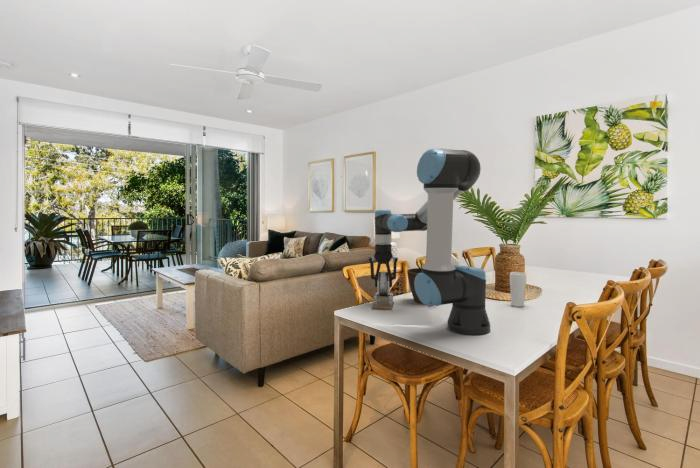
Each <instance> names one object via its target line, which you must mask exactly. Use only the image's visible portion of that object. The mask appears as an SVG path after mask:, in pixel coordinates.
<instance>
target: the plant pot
mask: <svg viewBox="0 0 700 468" xmlns="http://www.w3.org/2000/svg"><path fill="white" fill-rule="evenodd" d="M406 272H407V279H408V283H409V284H408V285H409V288H410V292H411V294H412V299H413V301H414V303H415V304H419V305H424V304H423V303H422V302H421V301H420V299H419V298H418V296H417V294H416V291H415V286H414V281H415V277H416V275H417V274H419V273H421V272H422V267H418V268H417V267H416V268H415V267H414V268H409V269H407V270H406Z"/></svg>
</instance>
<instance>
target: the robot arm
mask: <svg viewBox="0 0 700 468" xmlns="http://www.w3.org/2000/svg"><path fill="white" fill-rule="evenodd" d="M480 175H481V163H480V160H479V158H478V156H477V155H475V154H474V153H473V152H471V151H470V150H466V149H465V150H464V149H453V148H451V149H450V148H430V149H428V150H426V151H425V152H423V153H422V155H421V157H420V158H419V160H418V163H417V166H416V177H417V179H418V181H419V182H420V183H422V185H423V190H424V191H425V192H426V193H427V200H426V201H425V203H424V204H422V206H420V208H419V209H418V210H417V211H416V212H415V213H392V210H390V209H376V210H375V211H374V218H373V219H374V243H375V244H374V255H373V256H369V257H368V261H369V263H370V278H371V280H374V287H375V288H377V293H378V295H379V272H381V266H382V265H385V266H386V270H387V271H386V272H388V295H390V293H391V288H392V287H393V281H394V280H396V279H397V263H398V261H399V257H395V256H394V255H393V253H392V251H393V248H392V245H393V244H392V233H393V232H394V233H401V232H416V231H417V232H419V231H420V232H422V231H423V232H424V231H426V249H425V250H426V251H425V252H426V254H425V255H426V256H425V257H426V258H425V262H424V263H423V264H422V265H421V268H422V272H421V273H419V274H417V275H416V277H415V281H414V286H415V291H416V294H417V296H418V298H419V299H420V301H421V302H422V303H423V304H422V305H425V306H426V307H434V306H435V307H439V306H442V305H449V304H451V310H450V313H449V315H448V319H447V322H446V323H447V325H446V326H447V329H448V330H450V331H451V332H454V333H456V334H461V335H468V336H469V335H470V336H480V335H486V334H489V333H490V332H491V323H490V319H489V317H488V313H487V309H486V295H487V294H486V292H487V291H486V290H487V289H486V288H487V286H486V285H487V279H486V277H487V276H486V271H485V269H484V268H481V267H480V268H479V267H476V266H475V267H474V266H469V265H467V266H466V265H461V264H459V265H454V266H453V265H452V263H451V254H453V252H452V248H453V221H454V220H453V219H454V218H453V217H454V201H455V200H456V199H457V198H458V197H459V196H460V195H461V194H462V193H463V192H468V190H470V189H471V188H472V187H473V186H474V185H475V184H476V182H477V181H478V179H479V177H480ZM391 260H392V262H393V269H392V270H393V273H392V272H391V271H392V270H391V265H390V262H391ZM374 261H376V262H377V266H376V272H375V267H374V266H375V265H374V264H375V263H374ZM392 275H393V276H392Z"/></svg>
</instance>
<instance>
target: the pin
mask: <svg viewBox="0 0 700 468" xmlns="http://www.w3.org/2000/svg"><path fill="white" fill-rule="evenodd" d="M378 280H379V296H388V280H389V276H388V272H387V271H379V276H378Z"/></svg>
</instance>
